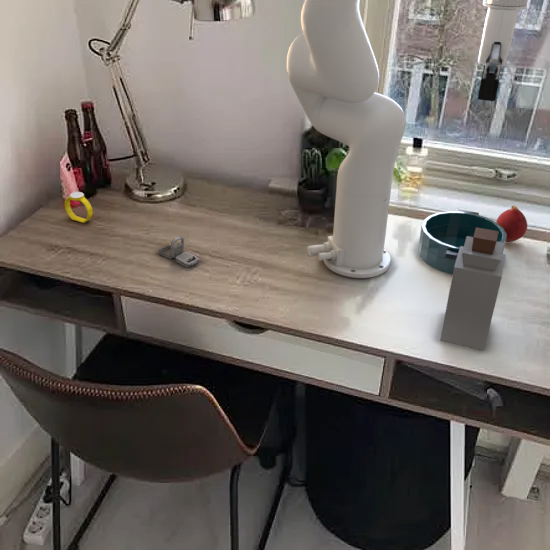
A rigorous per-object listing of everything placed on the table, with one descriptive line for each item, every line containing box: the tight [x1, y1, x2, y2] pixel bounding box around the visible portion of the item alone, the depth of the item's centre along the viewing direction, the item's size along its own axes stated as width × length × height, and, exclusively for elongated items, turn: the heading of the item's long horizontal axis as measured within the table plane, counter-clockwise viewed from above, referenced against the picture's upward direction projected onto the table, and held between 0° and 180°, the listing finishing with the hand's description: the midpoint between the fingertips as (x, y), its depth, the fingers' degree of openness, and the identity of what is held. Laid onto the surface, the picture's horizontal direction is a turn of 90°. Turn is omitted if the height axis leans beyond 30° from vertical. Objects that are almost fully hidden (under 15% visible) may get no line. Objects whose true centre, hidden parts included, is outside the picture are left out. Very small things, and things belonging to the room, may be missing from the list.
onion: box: [495, 205, 528, 244], centre depth 127 cm, size 6×6×8 cm
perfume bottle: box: [439, 227, 506, 351], centre depth 99 cm, size 7×7×18 cm
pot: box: [417, 210, 507, 276], centre depth 123 cm, size 15×15×6 cm
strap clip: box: [158, 235, 200, 268], centre depth 121 cm, size 8×3×4 cm, turn 50°
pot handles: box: [445, 209, 480, 260], centre depth 122 cm, size 19×4×1 cm, turn 160°
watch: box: [64, 191, 94, 224], centre depth 132 cm, size 6×3×6 cm, turn 66°
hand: (487, 92), depth 125 cm, fingers open, 9 cm apart
